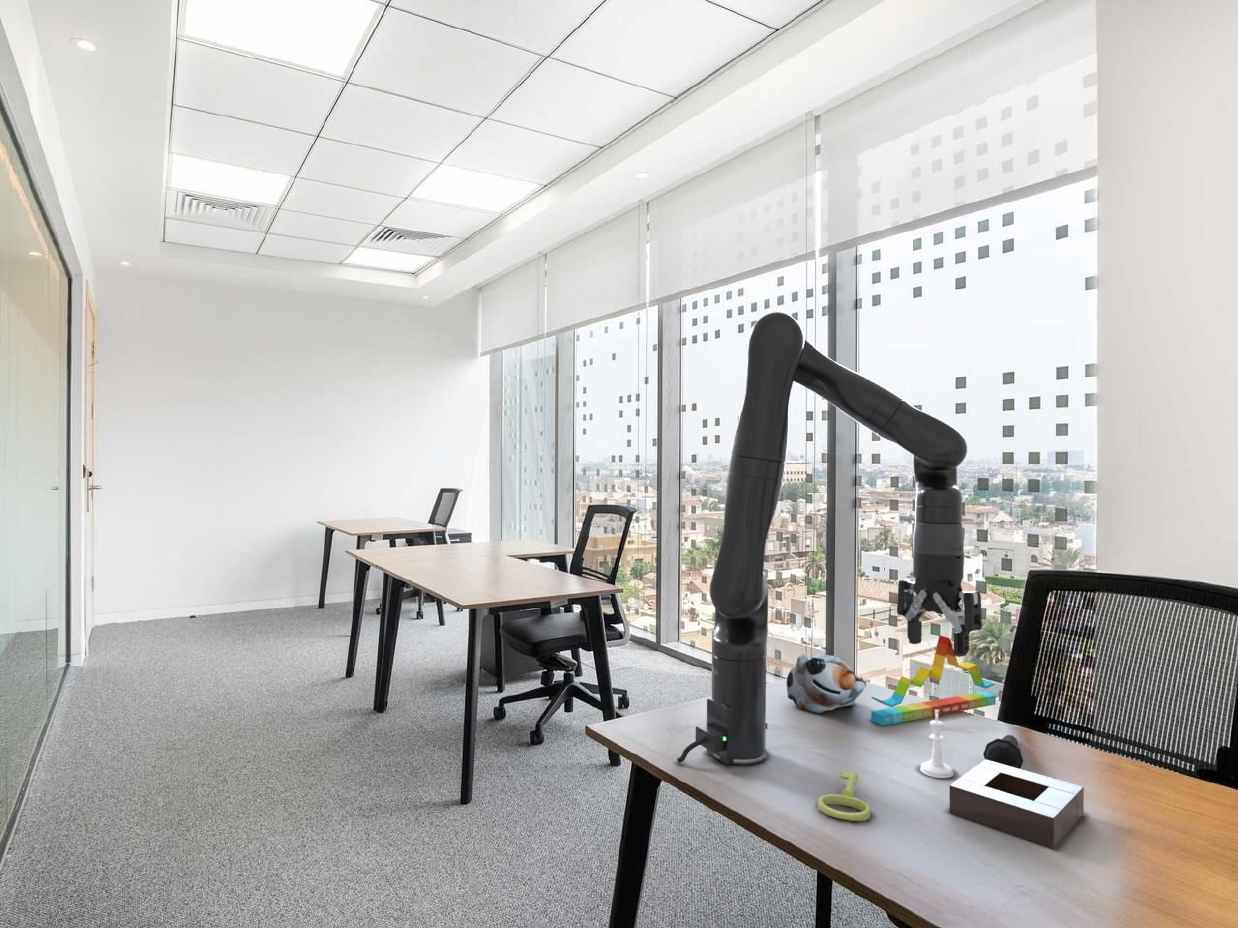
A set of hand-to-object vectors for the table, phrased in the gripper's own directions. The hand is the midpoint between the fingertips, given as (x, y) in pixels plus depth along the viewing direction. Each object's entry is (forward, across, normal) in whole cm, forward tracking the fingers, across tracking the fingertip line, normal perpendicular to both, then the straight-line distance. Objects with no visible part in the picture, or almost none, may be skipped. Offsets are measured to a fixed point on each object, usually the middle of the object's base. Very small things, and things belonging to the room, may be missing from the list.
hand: (937, 649), depth 121 cm
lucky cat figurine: (+20, -32, +7) cm, 38 cm away
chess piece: (+20, 0, 0) cm, 20 cm away
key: (+20, +1, -21) cm, 29 cm away
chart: (+20, -19, +24) cm, 37 cm away
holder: (+20, +15, -2) cm, 25 cm away
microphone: (+20, +3, +15) cm, 25 cm away
